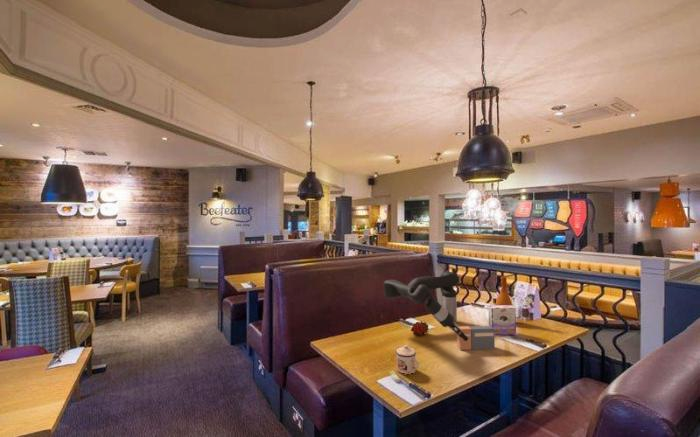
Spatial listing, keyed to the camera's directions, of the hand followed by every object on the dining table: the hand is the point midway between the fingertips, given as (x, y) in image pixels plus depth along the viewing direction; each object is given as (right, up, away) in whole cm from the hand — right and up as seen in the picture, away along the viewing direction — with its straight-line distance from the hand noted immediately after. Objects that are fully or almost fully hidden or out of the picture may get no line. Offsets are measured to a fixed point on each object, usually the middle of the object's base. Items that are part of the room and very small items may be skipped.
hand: (463, 336), depth 173 cm
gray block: (+10, -6, +1) cm, 12 cm away
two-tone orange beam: (0, -6, +1) cm, 7 cm away
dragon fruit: (-19, -7, +21) cm, 29 cm away
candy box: (+30, -6, +20) cm, 36 cm away
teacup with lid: (-34, -8, -23) cm, 41 cm away
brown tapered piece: (+40, -5, +39) cm, 56 cm away
